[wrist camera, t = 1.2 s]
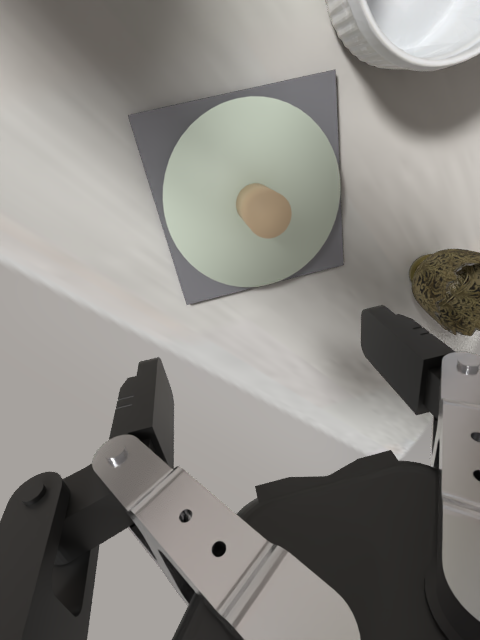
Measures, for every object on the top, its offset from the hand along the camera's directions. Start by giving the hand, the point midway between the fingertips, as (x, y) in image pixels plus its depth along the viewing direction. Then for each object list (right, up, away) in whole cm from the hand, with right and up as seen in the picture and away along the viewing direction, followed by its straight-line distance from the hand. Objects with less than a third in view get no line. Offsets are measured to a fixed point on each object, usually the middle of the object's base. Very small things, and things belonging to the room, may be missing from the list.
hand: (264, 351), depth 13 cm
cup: (+18, +7, +23) cm, 30 cm away
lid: (0, +12, +16) cm, 20 cm away
